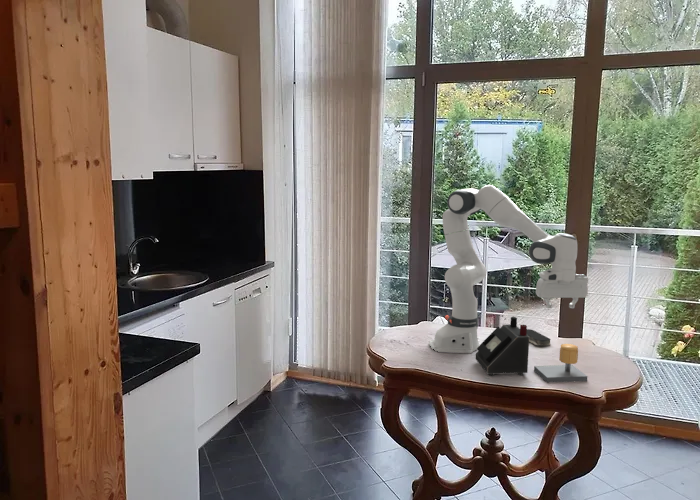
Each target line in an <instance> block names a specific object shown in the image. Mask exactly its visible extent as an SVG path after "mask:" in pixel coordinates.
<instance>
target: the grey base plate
mask: <svg viewBox="0 0 700 500" xmlns="http://www.w3.org/2000/svg"><path fill="white" fill-rule="evenodd" d="M533 371H534V372H535V374H537V375H538V377H541V378H542V379H543V380H544V381H545V382H546V383H569V382H570V383H572V382H574V381H575V382H587V381H588V375H587V374H585V373H584V372H583V371H581V370H580V369H579V368H577V367H576V366H575V365H574V364H571V368H570V372H567V371H565V364H554V365H534V368H533Z"/></svg>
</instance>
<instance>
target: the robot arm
mask: <svg viewBox="0 0 700 500" xmlns="http://www.w3.org/2000/svg"><path fill="white" fill-rule="evenodd" d="M446 205H447V208H448V209H446V210H445V211H443V213H442V227H443V228H442V229H443V235H444V238H445V243H446V247H447V251H448V253H449V254H450V255H452V257H453V259H454V261H455V263H456V264H454V265H452V266H450V268H448V269H447V270H446V272H445V273H444V281H445V284H446V285H447V286H448V287H449V290H450V293H451V298H452V299H451V300H452V306H451V307H452V314H451V315H450V316H449V314H446V315H445V316H444V319H445V320H446V321H447V324H445V325H444V326H442V327H441V328H439V329H438V330H436V331H435V334H434V339H433V340H432V339H431V340H430V341H429V344H430V345H429V344H428V345H429V347H430V346H431V347H430V348H431V350H433V349H434V350H435V352H437V351H438V352H437V353H452V354H453V353H454V354H473V352H474V351H478V350H477V348H478V347H479V346H480V344H479V338H478V327H479V317H478V303H479V302H478V298H477V297H476V296H475V293H474V285H477V284H479V283H481V282H482V281H483V280H484V279H485V278H486V275H487V273H488V271H487V267H486V266H485V264H484V263H483V262H482V261H481V259H480V258H479V256H478V254H477V253H476V250H475V248H474V245H473V241H472V237H471V233H470V228H469V225H468V218H469V216H470V217H471V216H473V215H474V214H476V213H478V212H480V211H481V210H482V211H483V212H485V214H486V215H487V216H488V217H489V218H490V219H491V220H492V221H494V223H496V224H497V225H498V226H501V227H504V228H510V229H515V230H517V231H520V232H521V233H522V234H524V235H525V236H526V237H527V238H528V239H529V240H531V241H532V242H533V243H531V244H530V246H529V248H528V256H529V258H530V260H531V261H532V262H534V263H535V264H541V265H545V264H551V265H552V266H551V268H549V269H546V270H541V271H540V272H539V274H538V275H539V277H540V278H539V279H538V280H537V282H536V287H535V295H536V296H537V297H539V298H541V299H542V298H543V300H544V301H545V303H546V309H552V308H553V304H552V303H550V300H551V299H552V298H553V299H554V298H555V299H557V298H558V299H559V298H561V299H562V298H563V299H564V298H565V299H566V298H567V299H569V298H572V301H571V302H570V303H568V308H569V309H575V307H576V306H575V305H576V304H577V302H578V301H579V298H580V299H581V298H583V299H584V298H587V296H588V295H589V293H588V291H589V290H588V289H589V288H588V287H589V286H588V283H589V277H588V276H587V275H585V274H577V273H576V271H577V266H576V260H577V257H578V240H577V238H576V237H575V236H574V235H572V234H570V233H566V232H565V233H564V232H557V233H556V234H554V235H551V234H549V233H548V232H546V231H545V230H544V229H543V228H542V227H540V226H539V224H537V223H536V222H535V221H533V219H531V218H530V217H529V216H528V215H527V214H526V213H525V212H524V211H522V210H521V209H520V208H519V207H518V206H517V205H516V204H515V203H514V201H513V200H512V199H510V198H509V196H507V195H506V194H505V193H504V192H503V191H501V190H500V189H499V188H497V187H496V186H494V185H492V184H486V185H483V186H482V187H481V188H480V189H479V188H475V187H471V188H468V187H466V188H462V189H457V190H454V191H452V192H451V193H450V194H449V195H448V197H447V201H446ZM434 350H433V351H434Z"/></svg>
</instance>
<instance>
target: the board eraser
mask: <svg viewBox="0 0 700 500" xmlns="http://www.w3.org/2000/svg"><path fill="white" fill-rule="evenodd" d="M527 335H528V336H529V343H531V344H534V345H535V346H550V345H551V338H549V337H548V336H546V335H543V334H541V333H540V332H537V331H536V330H534V329H531V328H530V329H529V328H527Z"/></svg>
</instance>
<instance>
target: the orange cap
mask: <svg viewBox="0 0 700 500" xmlns="http://www.w3.org/2000/svg"><path fill="white" fill-rule="evenodd" d="M578 348H579V347H578V346H577V345H575V344H573V343H562V344H561V345H560V347H559V357H558V358H559V361H560V362H561V363H563V364H565V363H567V364H571V365H574V364H575V365H576V364H577V363H578V359H579V349H578Z"/></svg>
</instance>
